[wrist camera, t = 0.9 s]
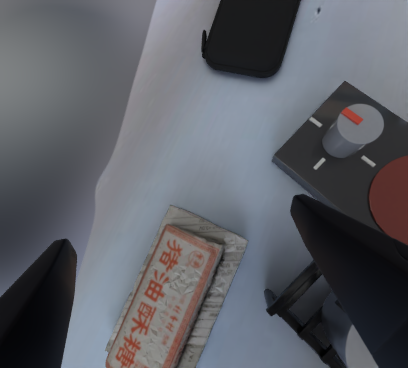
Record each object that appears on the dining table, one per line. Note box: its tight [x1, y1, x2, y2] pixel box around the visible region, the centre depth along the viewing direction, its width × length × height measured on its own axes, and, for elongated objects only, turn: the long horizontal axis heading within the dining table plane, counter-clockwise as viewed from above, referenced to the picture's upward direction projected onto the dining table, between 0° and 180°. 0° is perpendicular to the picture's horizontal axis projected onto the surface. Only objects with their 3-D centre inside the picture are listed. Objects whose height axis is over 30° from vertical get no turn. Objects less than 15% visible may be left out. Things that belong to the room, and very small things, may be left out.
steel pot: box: [322, 291, 378, 368], centre depth 18 cm, size 9×7×6 cm
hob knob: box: [322, 104, 384, 158], centre depth 22 cm, size 4×4×5 cm
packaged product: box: [105, 205, 248, 368], centre depth 25 cm, size 18×5×10 cm
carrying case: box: [201, 0, 301, 78], centre depth 30 cm, size 11×3×15 cm
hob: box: [272, 81, 408, 234], centre depth 25 cm, size 18×11×3 cm, turn 45°
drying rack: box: [264, 260, 346, 368], centre depth 22 cm, size 14×10×6 cm
